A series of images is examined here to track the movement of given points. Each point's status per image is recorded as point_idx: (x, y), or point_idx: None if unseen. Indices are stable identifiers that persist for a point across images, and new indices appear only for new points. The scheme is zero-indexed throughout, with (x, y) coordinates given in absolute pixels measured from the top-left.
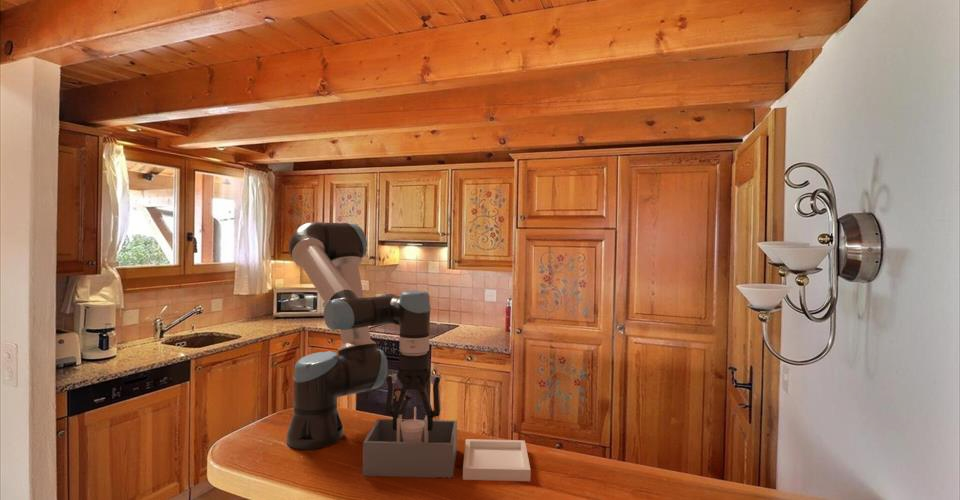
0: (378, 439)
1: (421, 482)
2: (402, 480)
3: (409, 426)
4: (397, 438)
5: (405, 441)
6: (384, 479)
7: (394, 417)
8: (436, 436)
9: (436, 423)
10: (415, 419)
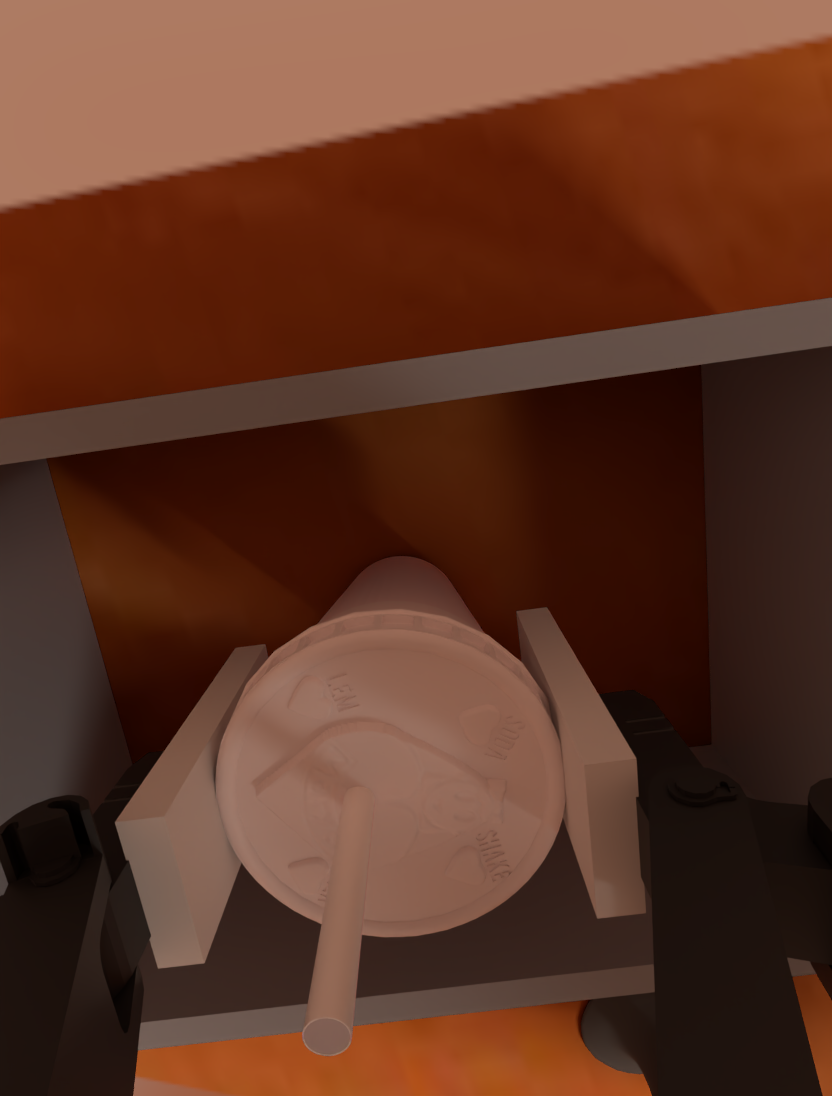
0: (762, 765)
1: (227, 313)
2: (386, 314)
3: (413, 711)
4: (550, 631)
5: (447, 605)
6: (534, 302)
7: (689, 769)
8: (248, 882)
9: (213, 991)
10: (342, 834)
